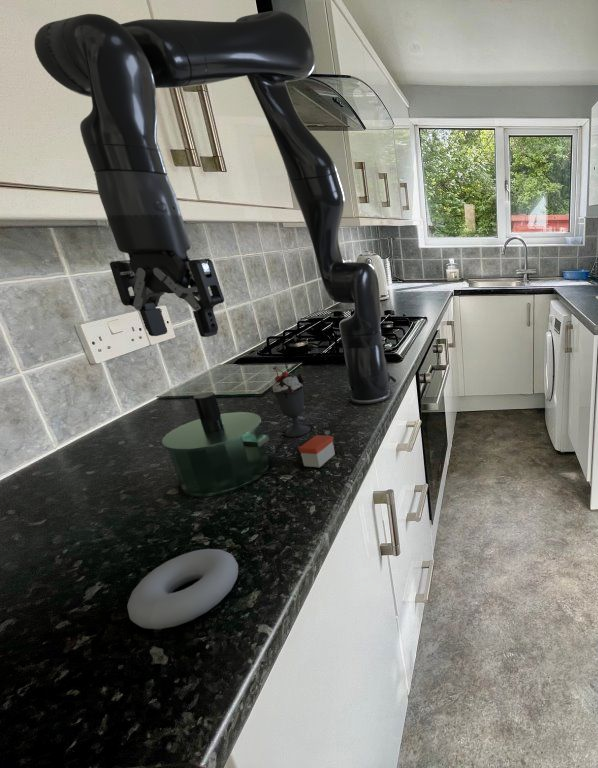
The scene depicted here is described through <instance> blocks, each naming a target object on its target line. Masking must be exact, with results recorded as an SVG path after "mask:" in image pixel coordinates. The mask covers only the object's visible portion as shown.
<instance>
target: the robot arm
mask: <svg viewBox="0 0 598 768" xmlns="http://www.w3.org/2000/svg"><path fill="white" fill-rule="evenodd" d="M34 51H35V54H36V57H37V59H38V61H39V63H40V64H41V66H42V67H43V69H44V70H45V71H46V73H48V75H50V77H51V78H52V79H54V80H55V81H56V82H57V83H59V84H60V85H61V86H63V87H65V88H66V89H68V90H69V91H71V92H73V93H75V94H77V95H81V96H83V97H88V98H91V104H92V105H91V106H92V107H91V111H90V113H89V114H88V115H87V116H86V117H84V118H83V119H82V121H81V122H80V124H79V131H80V134H81V138H82V141H83V145H84V147H85V150H86V152H87V156H88V158H89V161H90V164H91V167H92V170H93V172H94V176H95V181H96V187H97V192H98V195H99V198H100V201H101V204H102V207H103V210H104V213H105V216H106V219H107V222H108V225H109V228H110V230H111V232H112V233H111V234H112V235H113V238H114V241H115V245H116V247H117V249H118V251H120V252H121V253H123V254H128V257H129V259H127V260H126V259H124V260H113V261H110V262H109V267H110V270H111V273H112V276H113V279H114V283H115V285H116V289H117V292H118V295H119V298H120V302H121V304H122V305H123V306H125V307H126V306H127V307H128V306H131V307H133V308H134V309H135V310H137V311H139V313H140V316H141V319H142V322H143V325H144V327H145V330H146V331H147V333H148V335H149V336H150V337H159V336H163V335H166V334H167V333H168V328H167V326H166V322H165V320H164V317H163V313H162V310H161V307H160V308H159V307H158V305H159V303H160V298H161V297H162V296H163V295H165V293H166V294H174V295H176V297H178V298H179V299H182V300H184V301H185V302H186V303H187V304H188V305H189V306H190V307H191V309H193V311H192V313H193V316H194V319H195V323H196V327H197V329H198V330H197V331H198V333H199V335H200V336H201V337H202V338H209V337H213V336H216V335H217V334H218V330H219V326H218V323H217V319H216V314H215V312H214V307H215V306H217V305H219V304H223V303H224V302H225V297H224V294H223V291H222V288H221V285H220V281H219V279H218V276H217V273H216V270H215V266H214V263H213V261H212V260H211V259H210V258H200V259H190V257H189V255H188V251H189V250H190V249H191V242H190V240H189V236H188V232H187V229H186V225H185V222H184V218H183V216H182V212H181V209H180V204H179V201H178V198H177V194H176V193H175V190H174V188H173V185H172V183H171V180H170V178H169V176H168V172H167V169H166V165H165V161H164V158H163V154H162V150H161V149H160V145H159V142H158V113H157V111H158V110H157V109H158V108H157V107H158V106H157V89H178V88H179V89H180V88H188V87H197V86H203V85H208V84H209V85H210V84H214V83H219V82H224V81H228V80H232V79H237V78H243V77H246V78H247V79H248V82H249V84H250V86H251V88H252V90H253V92H254V94H255V97H256V99H257V102H258V103H259V105H260V107H261V110H262V112H263V115H264V117H265V119H266V121H267V123H268V126H269V129H270V131H271V134H272V136H273V139H274V142H275V144H276V146H277V149H278V151H279V154H280V156H281V159H282V163H283V166H284V169H285V171H286V174H287V175H286V176H287V177H288V181H289V183H290V187H291V189H292V191H293V194H294V197H295V199H296V202H297V204H298V207H299V209H300V212H301V214H302V218H303V219H304V224H305V225H306V229H307V232H308V235H309V237H310V241H311V244H312V249H313V251H314V255H315V260H316V263H317V266H318V271H319V274H320V278H321V282H322V284H323V287H324V289H325V292H326V294H327V296H328V297H329V298H330V299H331V300H332V301H333V302H336V303H338V304H339V303H340V304H354V313H353V314H352V315H351V316H349V317H345V318H344V319H342V320H340V322H339V323H338V324H339V327H338V328H339V332H340V338H341V339H340V340H341V345H342V350H343V356H344V357H343V358H344V362H345V369H346V374H347V380H348V383H347V388H348V389H349V392H350V401H351V402H352V403H354V404H356V405H372V404H373V405H374V404H378V403H380V402H381V403H382V402H383V401H386V400H387V399H389V398H390V397H391V388H390V382H391V381H392V382H393V383H396V382H397V379H396V378H395V377H393V376H392V375H390V372H389V371H388V367H387V359H386V357H385V350H384V349H385V348H384V343H383V337H382V336H383V335H382V328H381V322H382V308H381V296H380V295H381V293H380V284H379V283H380V282H379V278H378V274H377V272H376V270H375V268H374V267H373V265H372V264H370V263H369V262H364V261H345V260H344V258H343V255H342V251H341V248H340V243H339V231H340V226H341V223H342V219H343V214H344V209H345V193H344V190H343V186H342V183H341V180H340V177H339V176H340V175H339V172H338V169H337V166H336V164H335V161H334V160H333V157H331V155H330V154H329V153H328V151H327V150H326V149H325V147H324V146H323V144H322V143H321V142H320V141H319V140H318V138H317V137H316V136H315V135H314V134H313V132H311V130H310V129H309V128H308V127H307V126H306V124H305V123H304V122H303V120H302V118H301V117H300V115H299V114H298V111H297V109H296V107H295V105H294V102H293V100H292V97H291V95H290V93H289V90H288V86H287V83H289V82H291V83H292V82H297V81H301V80H304V79H306V78H308V77H309V76H311V74H312V73H313V71H314V68H315V66H316V65H315V64H316V53H315V49H314V44H313V42H312V40H311V37H310V35H309V33H308V31H307V30H306V28H305V27H304V25H303V24H302V23H301V21H300V20H298V19H297V18H296V17H295V16H293V15H292V14H290V13H288V12H285V11H283V10H282V11H281V10H269V11H264V12H259V13H254V14H249V15H244V16H240V17H239V18H237V19H236V20H235V21H210V20H209V21H208V20H192V19H191V20H190V19H189V20H188V19H163V18H162V19H161V18H160V19H159V18H158V19H157V18H145V19H143V18H142V19H137V20H136V19H135V20H132V21H131V20H130V21H127V22H124V23H119V22H118V21H117V20H114V19H113V18H110V17H108V16H106V15H102V14H98V13H85V14H79V15H76V16H72V17H67V18H64V19H63V18H62V19H59V20H55V21H50V22H47V23H46V24H44V25H43V26H41V27H40V28H39V29H38V31H37V32H36V34H35V38H34ZM129 288H131V289H132V292H133V295H131V294H130V290H129ZM210 291H211V292H210ZM211 294H212V295H211Z"/></svg>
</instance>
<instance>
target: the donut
mask: <svg viewBox="0 0 598 768" xmlns="http://www.w3.org/2000/svg"><path fill="white" fill-rule="evenodd" d="M238 575H239V563H238V562H237V560H236V558H235V557H234V555H233V554H231V553H229V552H227V551H226V550H223V549H217V548H204V549H203V548H202V549H197V550H193V551H189V552H186V553H183V554H181V555H178V556H176V557H174V558H171V559H169V560H167V561H165V562H164V563H162V564H160V565H159V566H157V567H156V568H154V569H153V570H152V571H150V572H149V573H148V574H146V575H145V576H144V577H143V578H142V579H141V580H140V581H139V583H138V584H137V585H136V587H135V588H133V590H132V591H131V594H130V597H129V599H128V602H127V605H126V609H127V613H128V616H129V620H130V621H131V622H132V623H134V624H135V625H136V626H139V627H140V628H143V629H148V630H162V629H168V628H174V627H179V626H180V625H183V624H186V623H188V622H192V621H193V620H195V619H197V618H198V617H199V618H200V616H202V615H204V614H206V613H208V612H210V610H212V609H213V608H214V607H216V606H217V605H218V604H220V602H221V601H222V600H224V598H226V596H227V595H228V594H229V593H230V592H231V591H232V589H233V588H234V585H235V584H236V581H237V580H238ZM193 581H196V582H194V583H193V584H192V585H190V586H188V587H186V588H184V589H181V590H179V591H176V590H178V589H179V588H181V587H182V586H184V585H187V584H188V583H191V582H193Z"/></svg>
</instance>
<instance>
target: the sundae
mask: <svg viewBox="0 0 598 768" xmlns="http://www.w3.org/2000/svg"><path fill="white" fill-rule="evenodd" d="M272 369H273V370H275V372H276V377H274V380H275V382H274V383H273V385H272V387H270V388H269V393H270V394H271V395H274V396H275V398H276V401H277V404H278V405H279V408H280V411H281V412H282V414H283V415H285V416H286V417H288V418H291V420H292V427H291V428H289V429H287V430H286V431H285V433H284V435H285V436H287V437H288V438H289V437H290V438H295V437H300V436H303V435H306V434H308V433H310V431H311V429H312V428H311V427H310V426H308V425H301V423H300V419H299V416H300V415H301V414H302V413H303V411H304V410H305V398H304V397H305V396H304V388H305V387H306V386H307V383H305V382H304V381H305V379H304V376H303V375H302V373H299V374H298V375H297V376H296V375H294V374H292V373H288V372H287V371H282V370H280V369H279V368H278V367H277V366H274V367H272ZM278 371H279V372H281V375H279V372H278Z"/></svg>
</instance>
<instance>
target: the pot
mask: <svg viewBox="0 0 598 768" xmlns="http://www.w3.org/2000/svg"><path fill="white" fill-rule="evenodd" d="M167 434H168V433H166V434H165V435H167ZM269 441H270V438H269V435H268V434H267V435H266V434H262V431H261V425H260V426H259V428H258V429H256V430H255V431H254V432H252V433H251V434H249V435H247V436H245V437H243V438H241V439H239V440H236V441H234V442H231V443H228V444H225V445H221V446H217V447H213V448H209V449H203V450H197V451H183V452H182V451H172V450H168V449H167V451H168V454H169V456H170V460H171V462H172V466H173V468H174V471H175V474H176V476H177V479H178V482H179V485H180V488H181V489H182V491H183V492H184V493H185V495H188V496H190V497H195V498H197V497H198V498H204V497H205V498H206V497H215V496H220V495H224V494H225V495H226V494H229V493H232V492H235V491H237V490H240V489H242V488H244V487H247V486H249V485H251V484H252V483H255V482H256V481H258V480H259V479H261V478H262V477H263V476H264V475H265V474H266V473H267V471H268V470H269V468H270V461H269V457H268V454H267V450H266V446H265V444H266V443H268V442H269Z"/></svg>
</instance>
